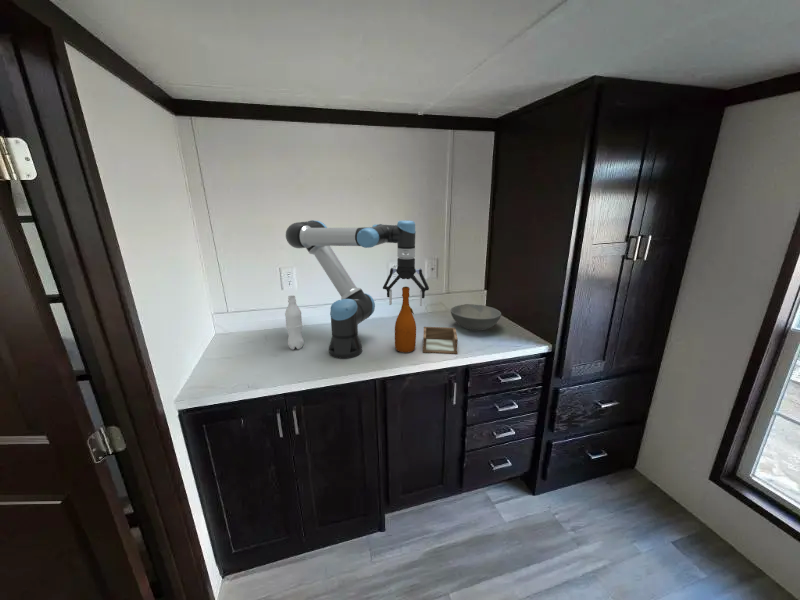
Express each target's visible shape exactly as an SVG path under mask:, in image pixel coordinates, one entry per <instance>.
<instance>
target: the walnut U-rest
mask: <svg viewBox="0 0 800 600" xmlns="http://www.w3.org/2000/svg"><path fill="white" fill-rule="evenodd" d="M422 334H423V335H422V336H423V337H422V338H423V340H422V353H423V354H439V355H441V354H442V355H443V354H444V355H458V342H459V341H458V333H457V328H456V327H445V326H443V327H441V326H439V327H438V326H423V333H422Z"/></svg>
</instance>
